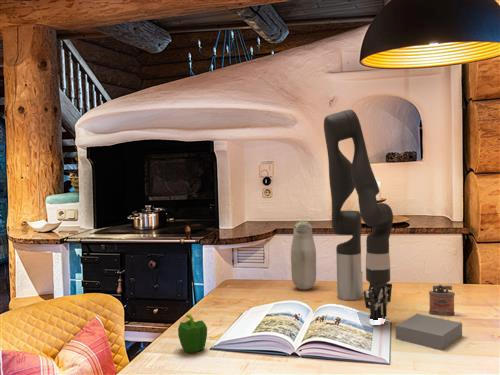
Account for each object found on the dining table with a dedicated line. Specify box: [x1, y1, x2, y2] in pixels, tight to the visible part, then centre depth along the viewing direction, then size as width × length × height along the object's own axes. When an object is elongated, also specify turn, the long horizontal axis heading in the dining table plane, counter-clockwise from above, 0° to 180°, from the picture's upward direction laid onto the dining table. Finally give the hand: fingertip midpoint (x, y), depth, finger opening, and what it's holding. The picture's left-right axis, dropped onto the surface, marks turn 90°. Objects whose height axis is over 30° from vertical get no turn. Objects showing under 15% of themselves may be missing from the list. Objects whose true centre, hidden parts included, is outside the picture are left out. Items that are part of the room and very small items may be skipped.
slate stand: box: [395, 313, 463, 351], centre depth 150 cm, size 14×14×4 cm
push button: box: [373, 294, 390, 326], centre depth 162 cm, size 7×5×10 cm
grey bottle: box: [290, 220, 317, 291], centre depth 206 cm, size 10×10×28 cm
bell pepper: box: [177, 313, 208, 354], centre depth 146 cm, size 8×8×10 cm
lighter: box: [428, 283, 456, 317], centre depth 170 cm, size 8×3×10 cm, turn 70°
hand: (378, 318), depth 162 cm, fingers closed on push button, 5 cm apart
